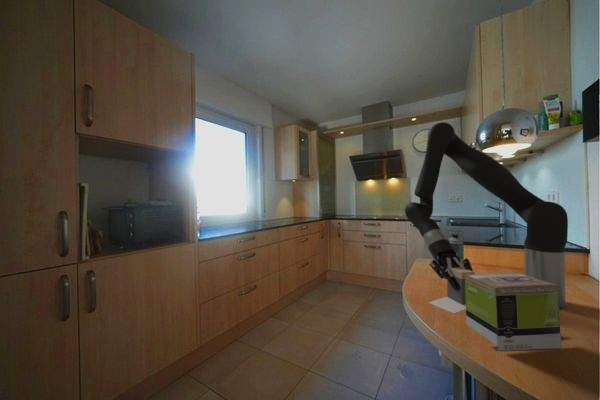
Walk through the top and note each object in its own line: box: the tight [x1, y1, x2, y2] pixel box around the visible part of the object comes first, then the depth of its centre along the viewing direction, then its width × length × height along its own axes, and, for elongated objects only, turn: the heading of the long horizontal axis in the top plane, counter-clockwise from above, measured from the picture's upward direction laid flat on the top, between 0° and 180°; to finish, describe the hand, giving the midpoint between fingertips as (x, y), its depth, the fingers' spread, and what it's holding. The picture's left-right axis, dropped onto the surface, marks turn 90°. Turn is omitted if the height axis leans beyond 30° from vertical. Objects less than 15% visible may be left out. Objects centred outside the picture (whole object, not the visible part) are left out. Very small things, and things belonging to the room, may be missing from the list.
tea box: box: [465, 272, 562, 352], centre depth 57 cm, size 15×10×15 cm, turn 92°
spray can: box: [448, 233, 465, 260], centre depth 95 cm, size 6×6×20 cm
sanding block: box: [446, 267, 476, 305], centre depth 76 cm, size 4×6×10 cm
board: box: [427, 296, 466, 314], centre depth 74 cm, size 14×8×1 cm, turn 117°
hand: (465, 289), depth 74 cm, fingers closed on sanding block, 4 cm apart
